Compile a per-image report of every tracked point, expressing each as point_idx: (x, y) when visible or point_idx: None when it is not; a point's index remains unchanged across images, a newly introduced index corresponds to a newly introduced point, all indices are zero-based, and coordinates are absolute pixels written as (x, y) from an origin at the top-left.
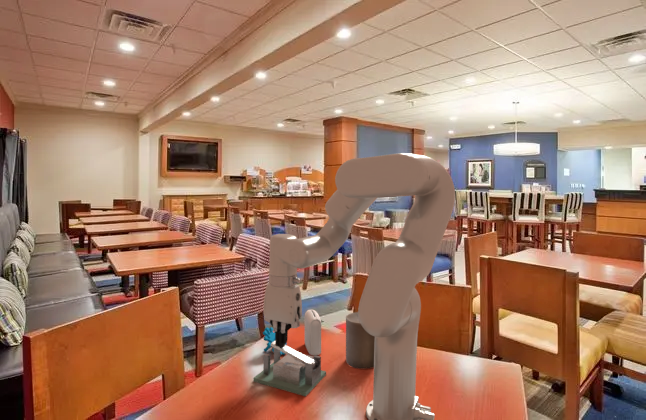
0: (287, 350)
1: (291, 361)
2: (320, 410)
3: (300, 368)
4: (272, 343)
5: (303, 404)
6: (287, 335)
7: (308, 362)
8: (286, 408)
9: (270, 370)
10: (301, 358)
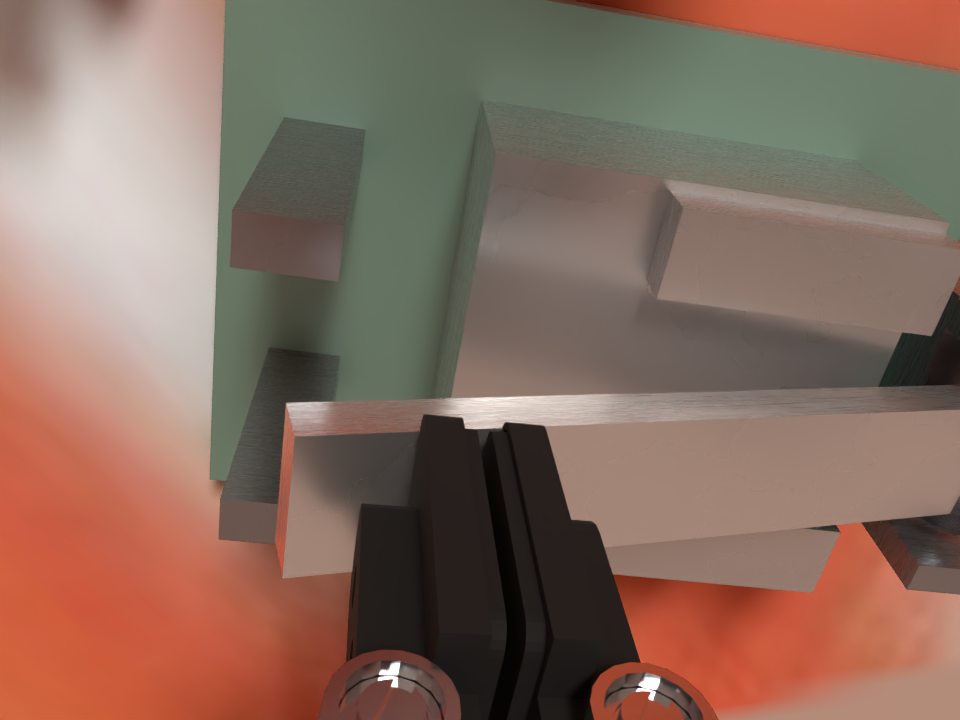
0: (608, 517)
1: (632, 388)
2: (947, 626)
3: (816, 570)
4: (307, 572)
5: (805, 605)
6: (621, 606)
7: (930, 503)
8: (684, 675)
9: (303, 287)
10: (836, 506)
